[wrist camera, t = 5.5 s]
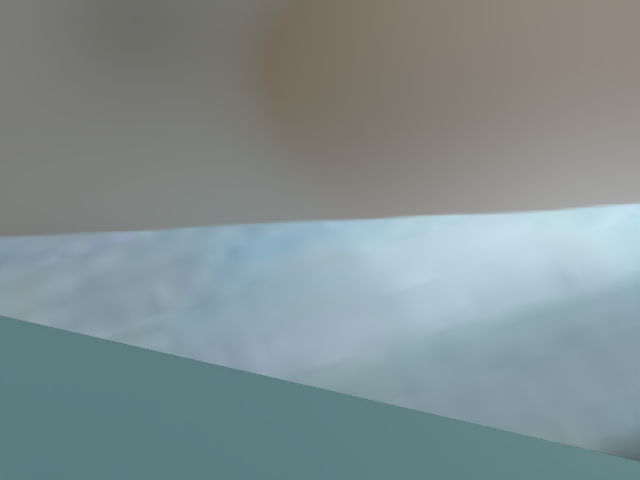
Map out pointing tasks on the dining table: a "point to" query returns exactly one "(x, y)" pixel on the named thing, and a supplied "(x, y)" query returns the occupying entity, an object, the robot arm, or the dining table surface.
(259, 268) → the dining table surface
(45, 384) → the wooden block
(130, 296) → the dining table surface
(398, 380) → the dining table surface
